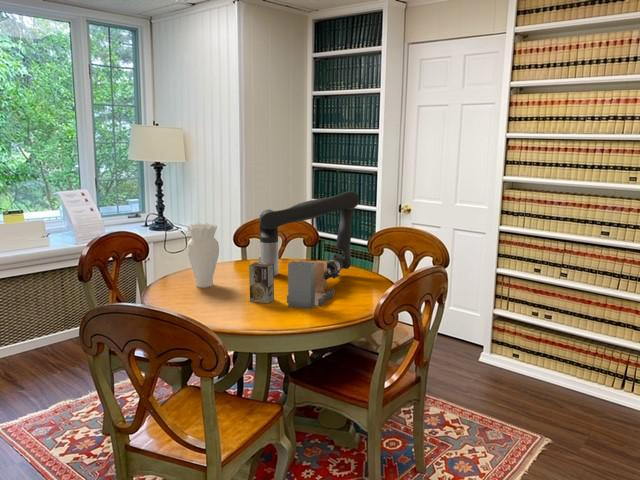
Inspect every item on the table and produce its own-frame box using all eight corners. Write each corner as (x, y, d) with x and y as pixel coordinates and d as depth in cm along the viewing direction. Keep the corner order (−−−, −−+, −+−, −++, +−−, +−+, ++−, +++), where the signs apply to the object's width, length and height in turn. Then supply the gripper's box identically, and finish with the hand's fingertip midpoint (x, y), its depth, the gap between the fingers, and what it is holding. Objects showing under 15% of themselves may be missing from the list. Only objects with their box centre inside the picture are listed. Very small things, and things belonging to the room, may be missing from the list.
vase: (219, 288, 249) (217, 227, 244) (187, 290, 247) (184, 227, 242) (220, 280, 263) (218, 222, 258) (189, 281, 261) (187, 222, 256)
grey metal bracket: (282, 305, 225) (282, 263, 221) (302, 291, 246) (302, 252, 243) (316, 310, 220) (317, 266, 216) (334, 294, 241) (334, 254, 238)
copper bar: (314, 292, 245) (314, 262, 242) (317, 289, 249) (317, 260, 247) (323, 293, 244) (323, 263, 241) (326, 290, 248) (326, 261, 245)
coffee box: (274, 299, 234) (274, 263, 231) (268, 303, 228) (268, 266, 225) (255, 297, 237) (255, 261, 234) (249, 301, 231) (248, 264, 228)
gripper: (316, 259, 260) (303, 267, 244) (345, 262, 255) (333, 270, 240) (316, 274, 261) (303, 283, 246) (344, 277, 257) (333, 286, 241)
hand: (318, 276), depth 243 cm, fingers open, 6 cm apart
